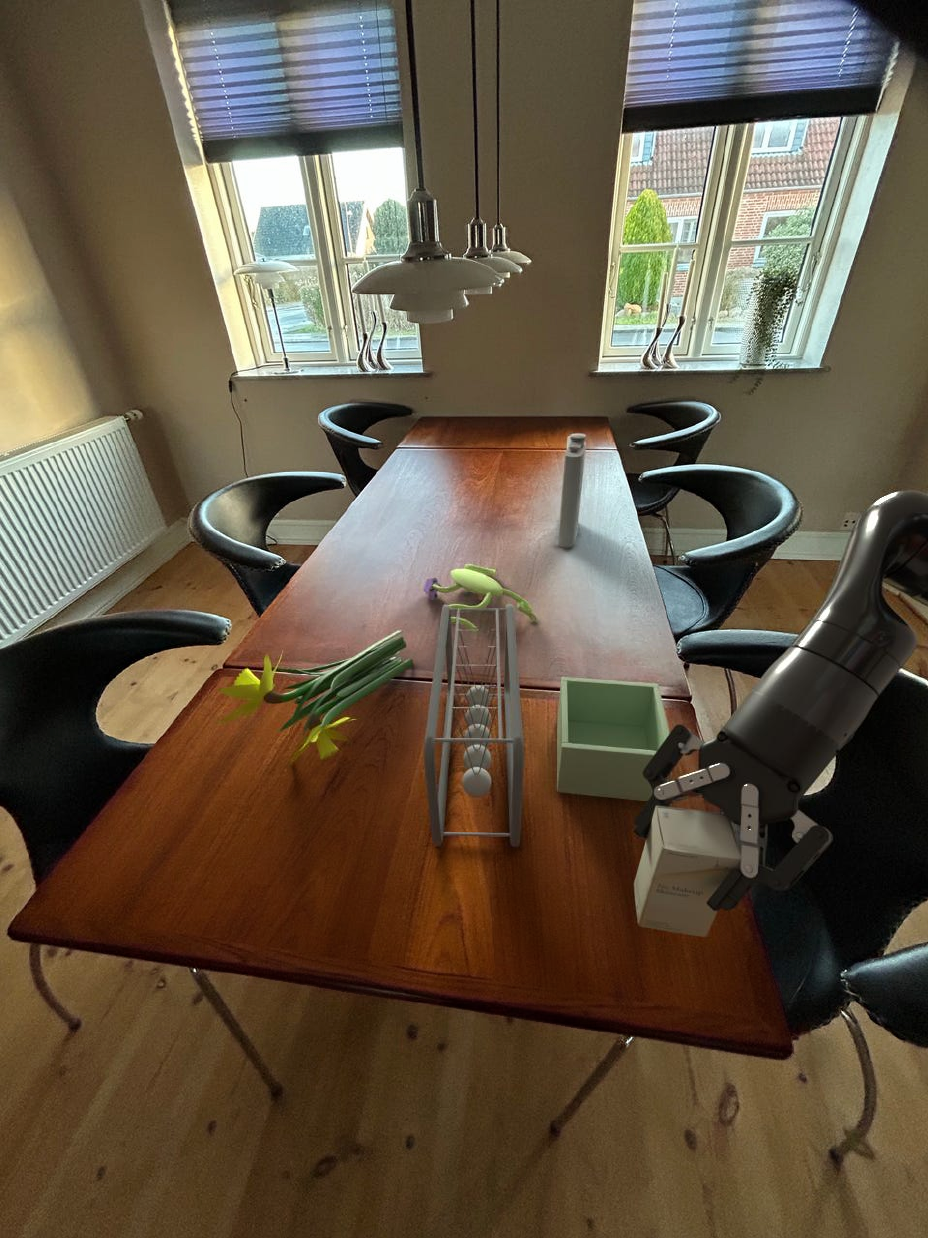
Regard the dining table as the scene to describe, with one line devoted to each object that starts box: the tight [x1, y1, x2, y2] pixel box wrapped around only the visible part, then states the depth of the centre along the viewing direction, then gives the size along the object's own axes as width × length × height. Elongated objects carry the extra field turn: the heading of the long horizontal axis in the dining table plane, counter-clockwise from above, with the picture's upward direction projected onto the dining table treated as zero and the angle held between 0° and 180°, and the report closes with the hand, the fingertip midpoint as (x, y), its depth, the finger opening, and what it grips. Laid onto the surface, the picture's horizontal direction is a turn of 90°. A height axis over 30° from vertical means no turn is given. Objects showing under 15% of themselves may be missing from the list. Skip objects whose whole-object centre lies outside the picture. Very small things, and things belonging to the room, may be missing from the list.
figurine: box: [423, 563, 537, 633], centre depth 109 cm, size 18×27×6 cm
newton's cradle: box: [423, 603, 525, 848], centre depth 71 cm, size 30×10×18 cm, turn 178°
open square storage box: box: [556, 676, 672, 802], centre depth 73 cm, size 14×14×9 cm
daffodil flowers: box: [216, 629, 415, 772], centre depth 80 cm, size 17×15×35 cm
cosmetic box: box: [633, 806, 741, 938], centre depth 47 cm, size 6×4×12 cm
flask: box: [556, 433, 587, 548], centre depth 131 cm, size 17×5×25 cm, turn 168°
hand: (674, 869), depth 45 cm, fingers closed on cosmetic box, 7 cm apart
